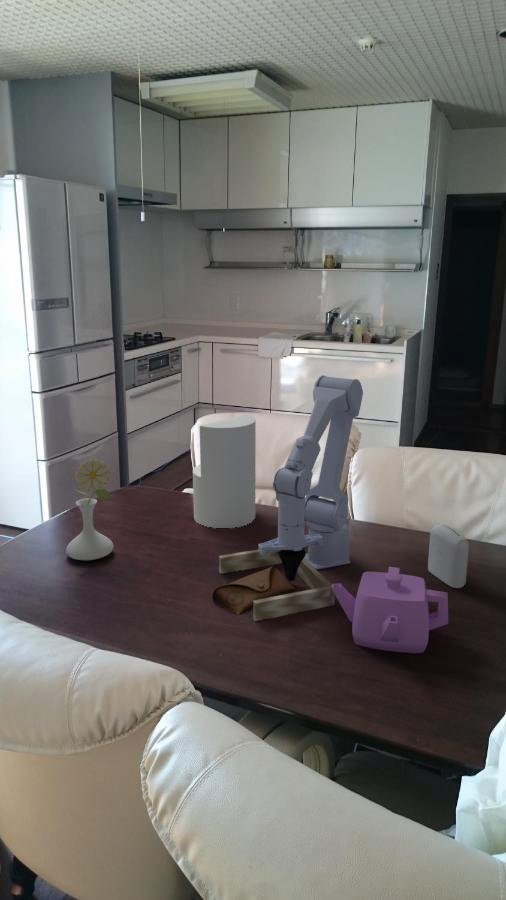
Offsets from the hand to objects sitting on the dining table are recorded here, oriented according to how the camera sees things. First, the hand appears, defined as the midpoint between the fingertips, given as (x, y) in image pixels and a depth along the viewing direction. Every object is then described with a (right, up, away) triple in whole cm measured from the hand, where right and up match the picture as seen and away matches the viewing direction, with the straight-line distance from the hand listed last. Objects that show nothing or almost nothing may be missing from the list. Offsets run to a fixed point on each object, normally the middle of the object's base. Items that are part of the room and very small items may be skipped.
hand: (290, 578), depth 143 cm
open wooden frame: (-3, -2, -1) cm, 4 cm away
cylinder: (-16, +10, +39) cm, 43 cm away
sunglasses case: (-7, -3, -4) cm, 9 cm away
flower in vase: (-47, +3, +15) cm, 50 cm away
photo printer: (+36, -1, +3) cm, 36 cm away
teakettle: (+18, -7, -19) cm, 27 cm away
